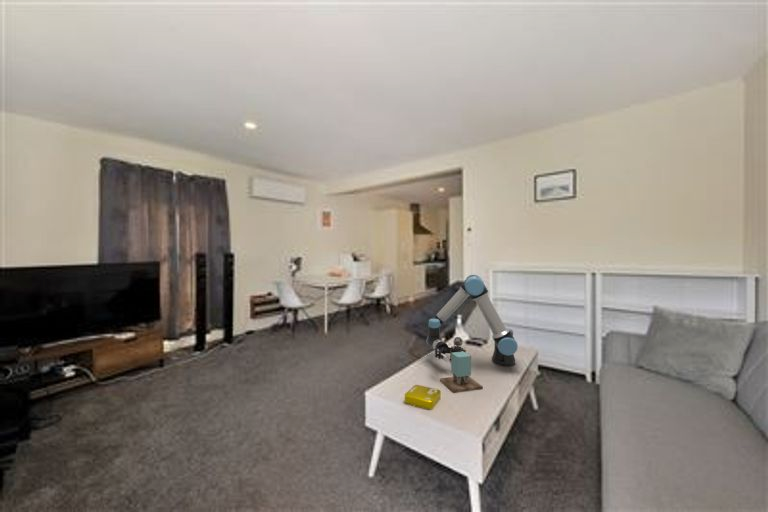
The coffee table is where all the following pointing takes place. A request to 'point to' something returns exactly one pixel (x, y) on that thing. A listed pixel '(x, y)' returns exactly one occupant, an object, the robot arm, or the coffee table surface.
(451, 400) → the coffee table surface
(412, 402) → the element tile
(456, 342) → the figurine
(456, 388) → the peg board
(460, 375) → the teal block
